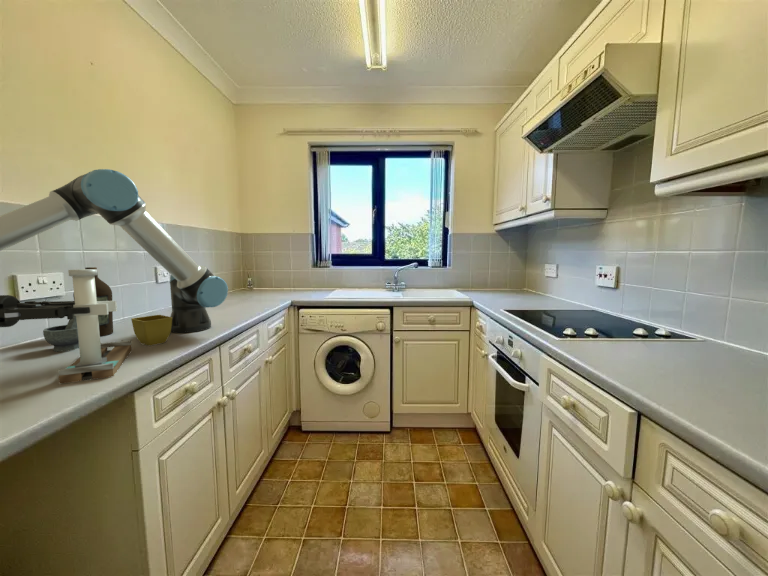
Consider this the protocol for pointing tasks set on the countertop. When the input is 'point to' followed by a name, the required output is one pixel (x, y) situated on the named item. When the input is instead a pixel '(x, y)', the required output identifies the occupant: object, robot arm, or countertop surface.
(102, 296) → the olive oil
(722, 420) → the countertop surface
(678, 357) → the countertop surface
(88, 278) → the slider
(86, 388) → the countertop surface
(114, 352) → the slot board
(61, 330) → the mortar and pestle
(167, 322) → the flower pot
